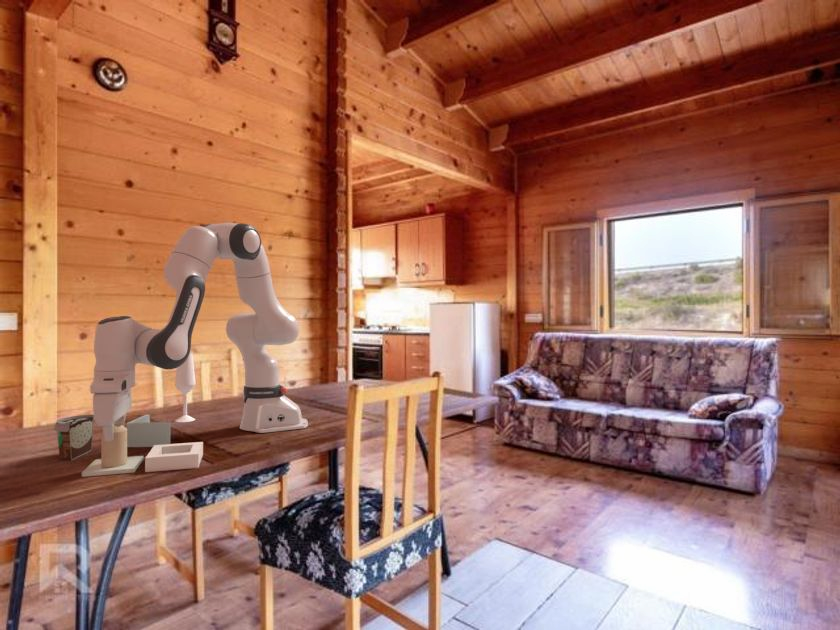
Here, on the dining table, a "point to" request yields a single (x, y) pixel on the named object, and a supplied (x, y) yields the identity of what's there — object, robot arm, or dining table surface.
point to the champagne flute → (185, 384)
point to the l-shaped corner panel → (147, 432)
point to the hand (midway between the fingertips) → (114, 435)
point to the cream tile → (97, 468)
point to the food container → (74, 436)
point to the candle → (114, 448)
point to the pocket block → (174, 456)
